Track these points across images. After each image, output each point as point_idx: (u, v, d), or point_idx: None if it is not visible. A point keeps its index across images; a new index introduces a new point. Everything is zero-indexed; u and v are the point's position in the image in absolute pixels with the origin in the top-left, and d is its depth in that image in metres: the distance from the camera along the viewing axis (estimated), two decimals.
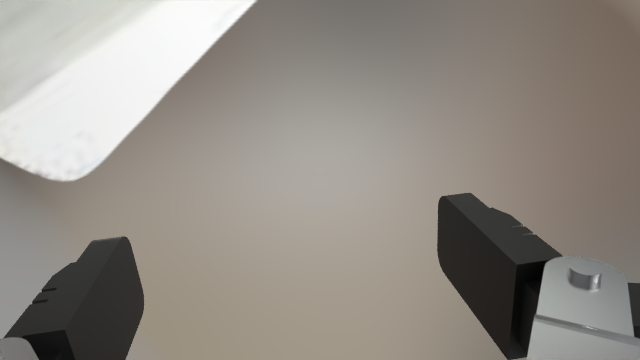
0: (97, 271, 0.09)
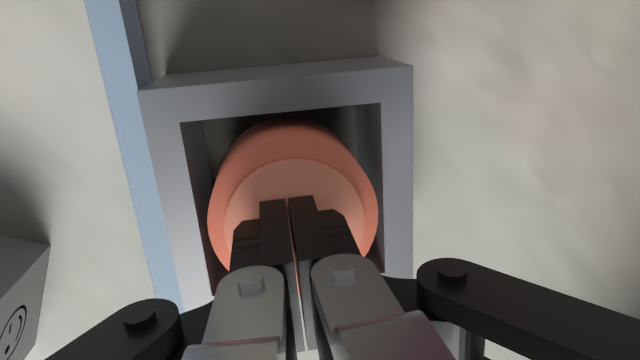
0: (285, 222, 0.10)
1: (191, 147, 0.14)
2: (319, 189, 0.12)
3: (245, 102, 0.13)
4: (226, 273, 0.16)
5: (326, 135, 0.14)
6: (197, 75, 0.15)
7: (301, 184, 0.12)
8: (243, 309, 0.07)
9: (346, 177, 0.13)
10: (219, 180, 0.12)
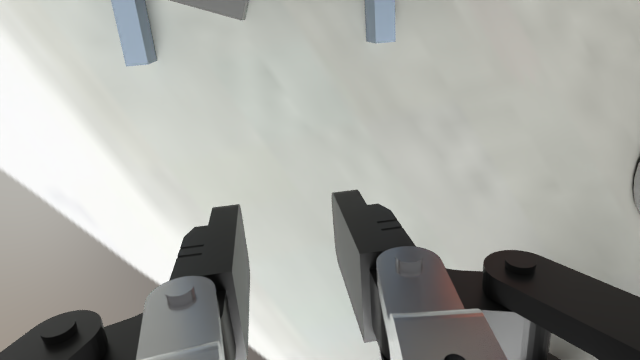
0: (232, 230, 0.10)
1: None
2: None
3: None
4: None
5: None
6: None
7: None
8: (166, 322, 0.07)
9: None
10: None
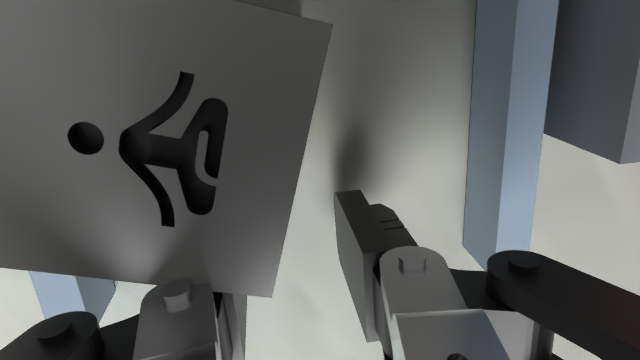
0: None
1: None
2: None
3: None
4: None
5: None
6: None
7: None
8: (162, 322, 0.07)
9: None
10: None
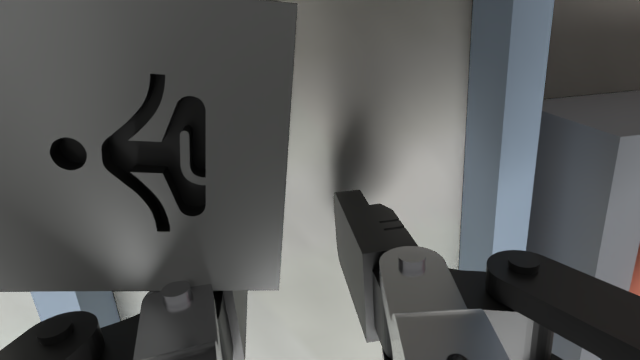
0: None
1: None
2: None
3: None
4: None
5: None
6: (588, 106, 0.12)
7: None
8: (163, 322, 0.07)
9: None
10: None
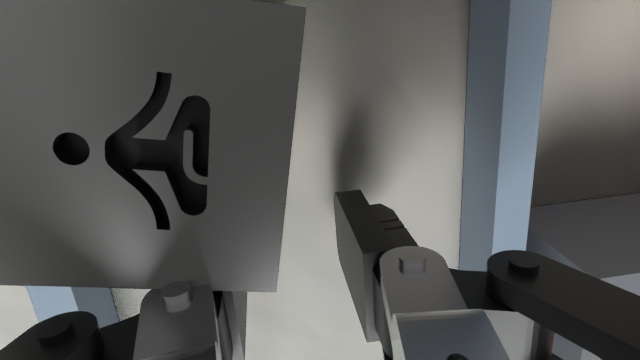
0: None
1: None
2: None
3: None
4: None
5: None
6: (571, 222, 0.13)
7: None
8: (162, 322, 0.07)
9: None
10: None
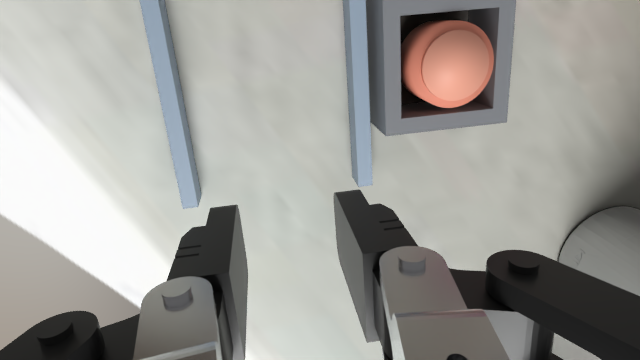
0: (230, 230, 0.10)
1: None
2: (469, 45, 0.25)
3: (433, 5, 0.25)
4: (400, 113, 0.29)
5: None
6: None
7: (461, 42, 0.25)
8: (163, 322, 0.07)
9: None
10: (421, 41, 0.25)
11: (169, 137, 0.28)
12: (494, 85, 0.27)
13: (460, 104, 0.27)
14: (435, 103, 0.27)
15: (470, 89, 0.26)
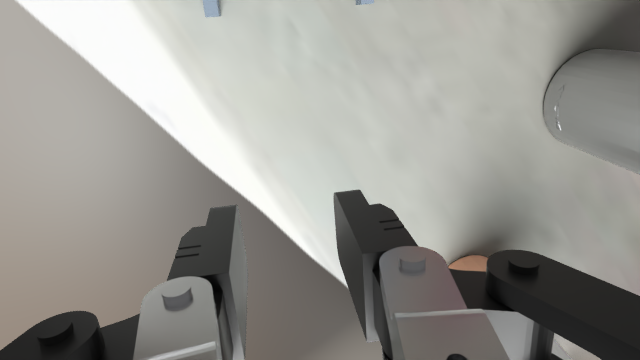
0: (230, 230, 0.10)
1: None
2: None
3: None
4: None
5: None
6: None
7: None
8: (163, 322, 0.07)
9: None
10: None
11: None
12: None
13: None
14: None
15: None
